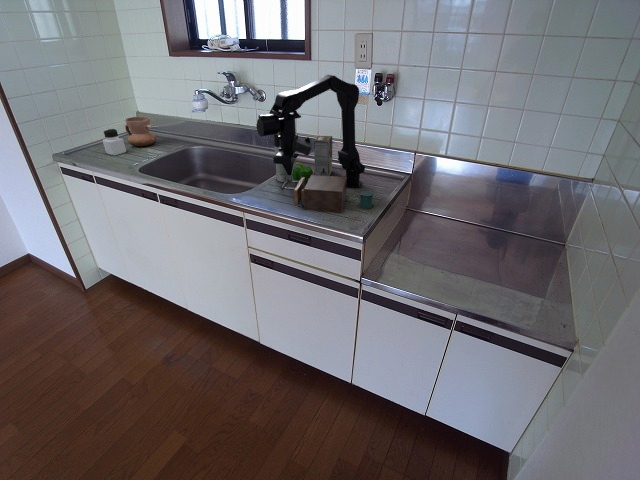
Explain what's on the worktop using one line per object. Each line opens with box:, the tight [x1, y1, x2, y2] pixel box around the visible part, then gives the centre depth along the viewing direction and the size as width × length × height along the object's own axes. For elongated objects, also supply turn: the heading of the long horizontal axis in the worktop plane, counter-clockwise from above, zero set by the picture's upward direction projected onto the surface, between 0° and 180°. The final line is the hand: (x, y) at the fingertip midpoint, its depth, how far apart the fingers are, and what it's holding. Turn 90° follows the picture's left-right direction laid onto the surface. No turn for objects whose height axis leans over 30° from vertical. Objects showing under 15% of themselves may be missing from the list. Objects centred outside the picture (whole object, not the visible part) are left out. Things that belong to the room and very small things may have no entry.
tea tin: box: [359, 190, 374, 210], centre depth 135 cm, size 5×5×5 cm
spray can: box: [273, 132, 293, 183], centre depth 154 cm, size 7×7×20 cm
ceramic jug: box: [124, 116, 157, 148], centre depth 202 cm, size 18×14×14 cm
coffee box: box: [313, 135, 333, 176], centre depth 161 cm, size 9×6×16 cm
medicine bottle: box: [101, 128, 127, 156], centre depth 190 cm, size 7×7×12 cm
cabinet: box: [303, 174, 347, 213], centre depth 137 cm, size 14×14×8 cm
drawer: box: [280, 177, 309, 207], centre depth 138 cm, size 18×13×6 cm
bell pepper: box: [292, 162, 314, 187], centre depth 150 cm, size 8×8×10 cm
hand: (289, 175), depth 136 cm, fingers closed
